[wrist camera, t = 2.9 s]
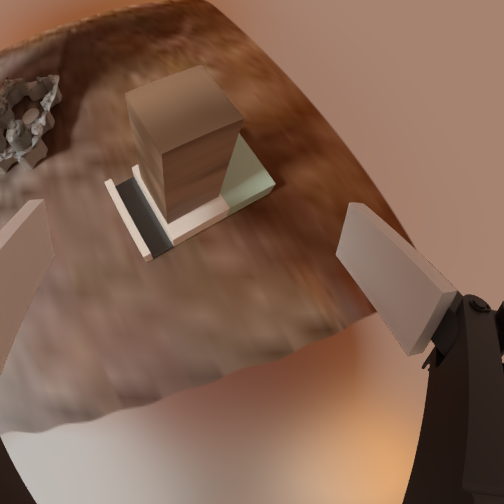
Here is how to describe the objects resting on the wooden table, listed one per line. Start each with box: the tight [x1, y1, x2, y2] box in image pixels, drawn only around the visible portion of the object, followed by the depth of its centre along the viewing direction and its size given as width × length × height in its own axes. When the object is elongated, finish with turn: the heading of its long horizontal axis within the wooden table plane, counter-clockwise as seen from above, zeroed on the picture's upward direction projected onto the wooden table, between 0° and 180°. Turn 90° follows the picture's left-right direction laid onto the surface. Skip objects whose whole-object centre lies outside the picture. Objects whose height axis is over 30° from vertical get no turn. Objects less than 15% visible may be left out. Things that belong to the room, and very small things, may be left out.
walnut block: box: [125, 65, 244, 224], centre depth 19 cm, size 4×4×10 cm
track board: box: [105, 134, 275, 263], centre depth 25 cm, size 7×12×2 cm, turn 124°
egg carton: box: [0, 75, 62, 174], centre depth 22 cm, size 11×8×4 cm
